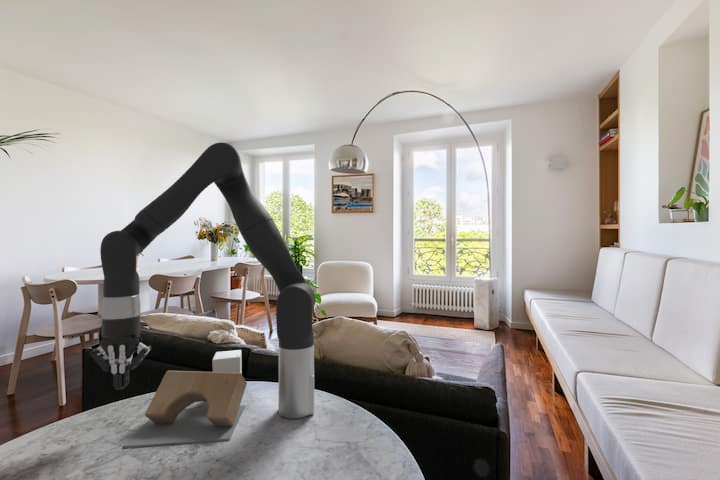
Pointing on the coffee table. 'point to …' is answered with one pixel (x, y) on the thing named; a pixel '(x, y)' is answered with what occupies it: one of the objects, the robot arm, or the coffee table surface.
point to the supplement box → (228, 361)
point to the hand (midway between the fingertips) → (120, 388)
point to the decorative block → (198, 396)
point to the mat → (182, 430)
